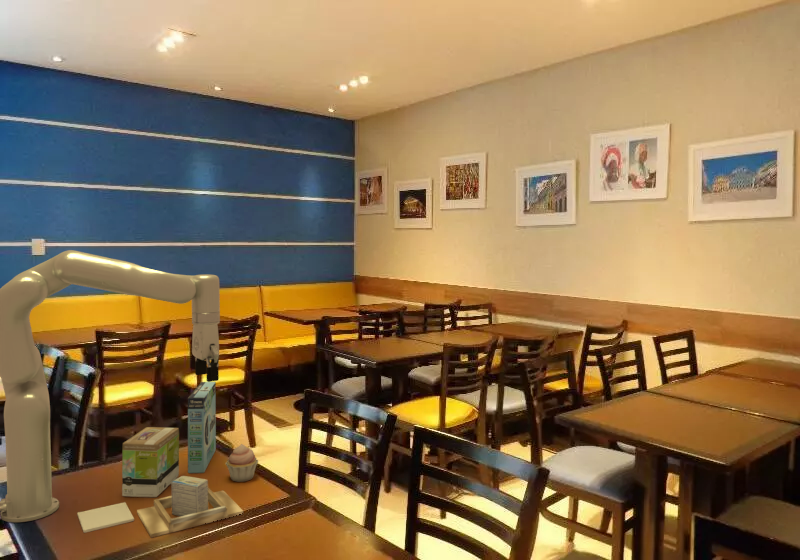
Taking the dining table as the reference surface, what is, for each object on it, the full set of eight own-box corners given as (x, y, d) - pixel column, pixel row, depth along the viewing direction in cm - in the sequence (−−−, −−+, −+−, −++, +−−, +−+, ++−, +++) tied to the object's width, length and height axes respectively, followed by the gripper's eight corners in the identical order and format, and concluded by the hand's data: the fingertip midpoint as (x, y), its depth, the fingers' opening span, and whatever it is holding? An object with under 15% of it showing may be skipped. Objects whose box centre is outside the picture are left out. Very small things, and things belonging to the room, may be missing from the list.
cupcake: (257, 470, 181) (257, 437, 180) (259, 482, 172) (259, 448, 171) (225, 473, 178) (225, 440, 178) (225, 485, 169) (224, 450, 169)
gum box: (201, 450, 197) (200, 381, 195) (217, 450, 198) (216, 381, 196) (187, 473, 178) (186, 397, 176) (205, 473, 178) (204, 397, 177)
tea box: (158, 498, 161) (157, 443, 160) (121, 497, 161) (120, 443, 160) (180, 476, 176) (179, 426, 175) (146, 475, 176) (145, 425, 175)
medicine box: (208, 512, 153) (208, 479, 152) (197, 520, 149) (197, 485, 148) (183, 507, 155) (182, 474, 155) (171, 515, 151) (170, 481, 151)
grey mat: (83, 532, 142) (83, 530, 141) (77, 515, 151) (77, 512, 150) (134, 520, 148) (134, 518, 148) (125, 504, 157) (125, 502, 157)
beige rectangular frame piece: (151, 538, 139) (151, 525, 139) (137, 513, 152) (136, 501, 152) (243, 514, 152) (243, 502, 152) (223, 493, 164) (223, 482, 164)
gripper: (183, 315, 176) (184, 373, 177) (202, 322, 162) (203, 385, 163) (208, 314, 180) (209, 370, 182) (229, 320, 166) (230, 381, 168)
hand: (206, 377), depth 172 cm, fingers open, 9 cm apart
